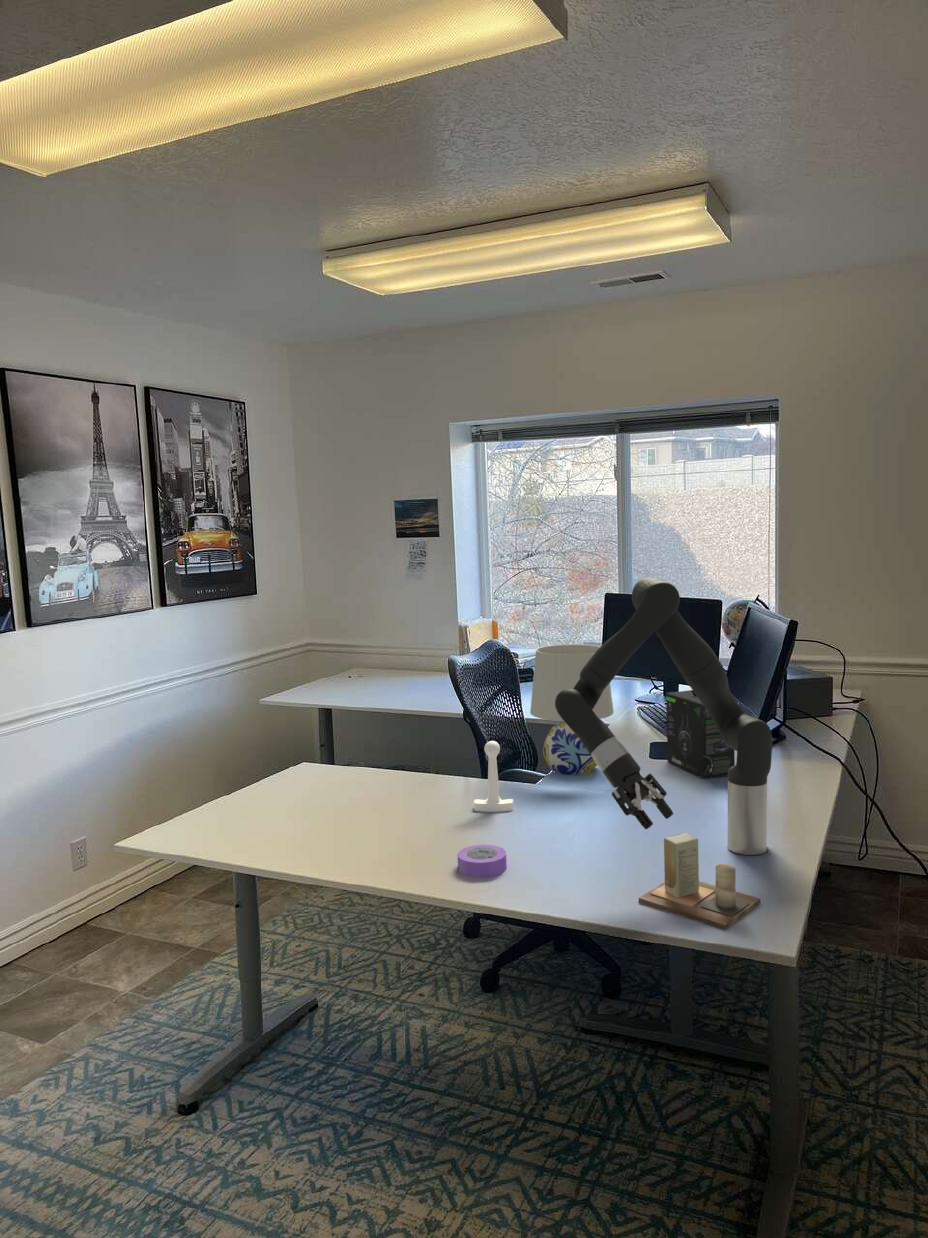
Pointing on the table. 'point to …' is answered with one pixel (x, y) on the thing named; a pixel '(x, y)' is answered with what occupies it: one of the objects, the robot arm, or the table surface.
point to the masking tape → (482, 861)
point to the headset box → (695, 738)
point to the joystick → (493, 785)
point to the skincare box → (681, 865)
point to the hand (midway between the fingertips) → (660, 821)
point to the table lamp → (551, 676)
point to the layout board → (707, 900)
